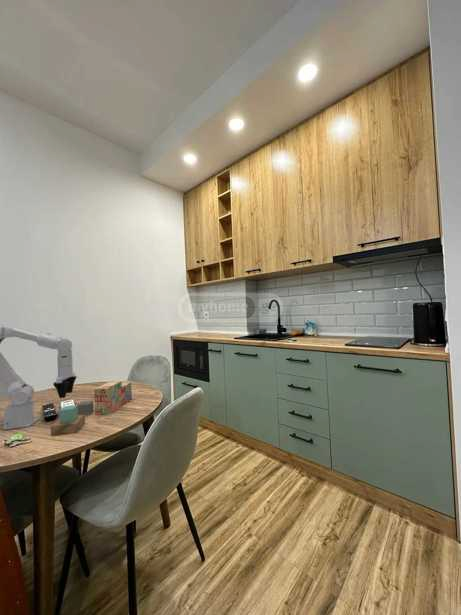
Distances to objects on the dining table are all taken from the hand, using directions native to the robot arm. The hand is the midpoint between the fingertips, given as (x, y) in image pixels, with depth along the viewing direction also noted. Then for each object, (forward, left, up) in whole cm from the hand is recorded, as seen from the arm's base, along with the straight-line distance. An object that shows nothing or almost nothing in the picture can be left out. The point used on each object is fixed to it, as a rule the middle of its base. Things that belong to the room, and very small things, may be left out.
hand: (65, 395), depth 116 cm
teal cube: (+7, -17, -6) cm, 19 cm away
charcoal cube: (+8, 0, -10) cm, 12 cm away
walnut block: (+7, -17, -10) cm, 21 cm away
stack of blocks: (+20, +5, -10) cm, 22 cm away
